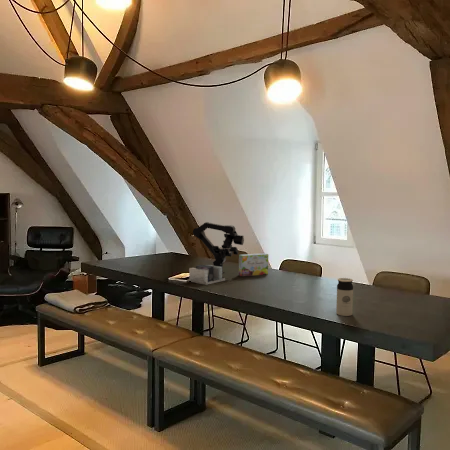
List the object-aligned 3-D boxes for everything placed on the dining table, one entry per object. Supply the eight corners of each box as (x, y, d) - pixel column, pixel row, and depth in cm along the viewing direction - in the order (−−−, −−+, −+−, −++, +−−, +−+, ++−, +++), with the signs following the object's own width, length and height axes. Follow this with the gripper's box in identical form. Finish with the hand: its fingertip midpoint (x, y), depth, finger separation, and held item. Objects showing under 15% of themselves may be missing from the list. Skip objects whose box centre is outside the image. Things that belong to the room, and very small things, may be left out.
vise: (207, 277, 348) (207, 264, 347) (225, 280, 337) (225, 267, 336) (187, 281, 334) (187, 267, 333) (206, 284, 323) (206, 271, 322)
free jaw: (208, 277, 346) (208, 264, 345) (222, 279, 338) (222, 267, 337) (204, 278, 344) (204, 265, 343) (218, 280, 335) (218, 267, 334)
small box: (195, 281, 334) (195, 265, 333) (200, 279, 340) (200, 264, 339) (208, 283, 329) (208, 267, 328) (213, 281, 334) (213, 265, 333)
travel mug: (336, 311, 259) (337, 277, 257) (352, 312, 257) (353, 278, 255) (335, 315, 251) (336, 280, 250) (352, 316, 249) (353, 281, 248)
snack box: (241, 276, 351) (242, 255, 350) (238, 275, 356) (238, 254, 355) (268, 274, 360) (268, 253, 358) (264, 273, 365) (264, 252, 363)
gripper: (243, 249, 359) (237, 267, 350) (220, 248, 367) (213, 265, 358) (238, 240, 351) (232, 257, 342) (215, 238, 360) (208, 256, 351)
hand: (221, 259), depth 349 cm, fingers closed
